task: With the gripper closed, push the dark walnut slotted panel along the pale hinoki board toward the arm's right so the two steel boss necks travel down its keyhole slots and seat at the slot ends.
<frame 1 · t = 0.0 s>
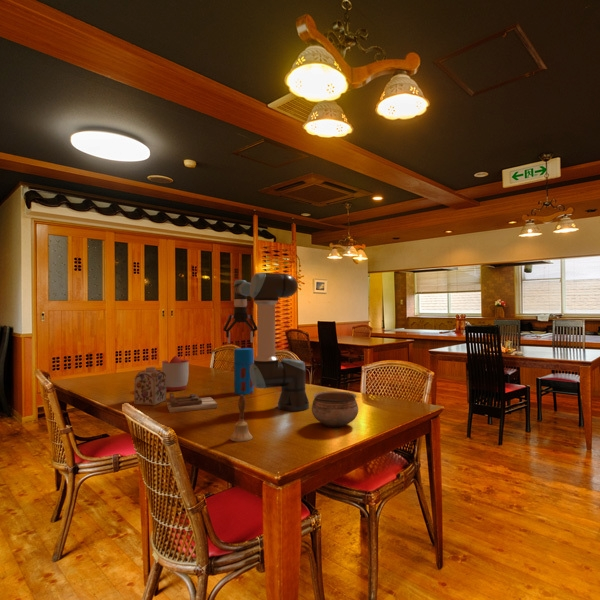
hand: (240, 342, 233), 28 cm above the table, fingers open, 13 cm apart
thermos: (243, 393, 227), on the table
keyhole board: (191, 406, 195), on the table
citrus juicer: (174, 389, 239), on the table
hand bell: (241, 438, 147), on the table
walnut panel: (185, 397, 194), point 5 cm above the table, slide at 0.0 cm
cooking pot: (334, 426, 162), on the table
decorative jar: (150, 402, 205), on the table
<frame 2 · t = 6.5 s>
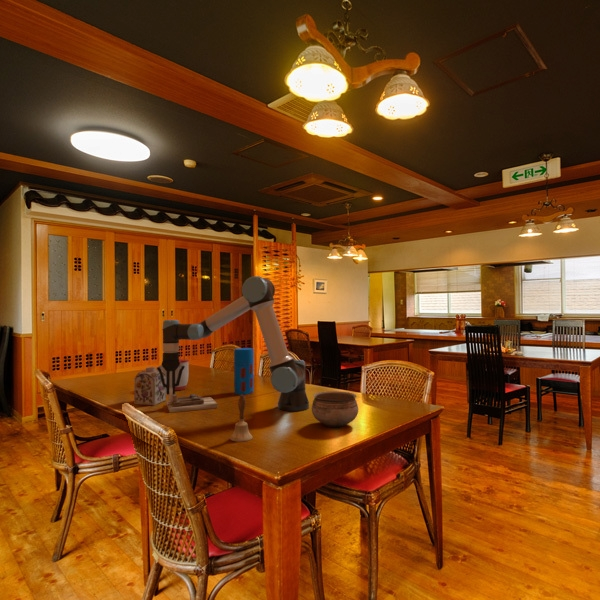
hand: (170, 401, 191), 4 cm above the table, fingers closed
walnut panel: (187, 397, 195), point 5 cm above the table, slide at 1.0 cm, touching gripper
everything else where it was.
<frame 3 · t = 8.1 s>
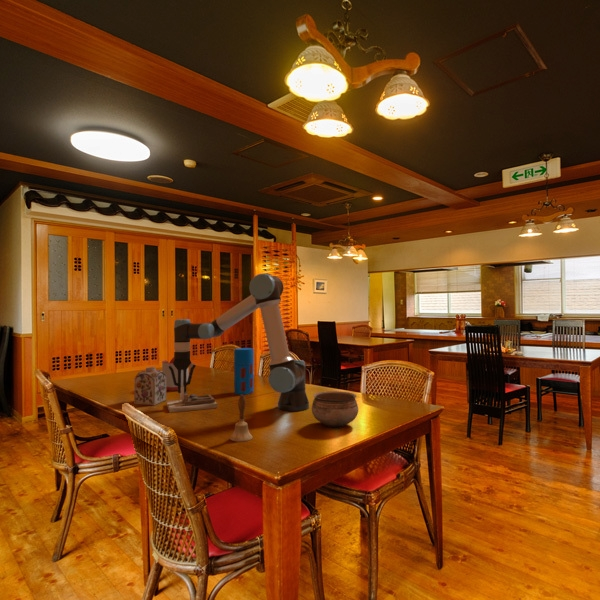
hand: (182, 399, 194), 4 cm above the table, fingers closed
walnut panel: (198, 396, 197), point 5 cm above the table, slide at 6.2 cm, touching gripper
everything else where it was.
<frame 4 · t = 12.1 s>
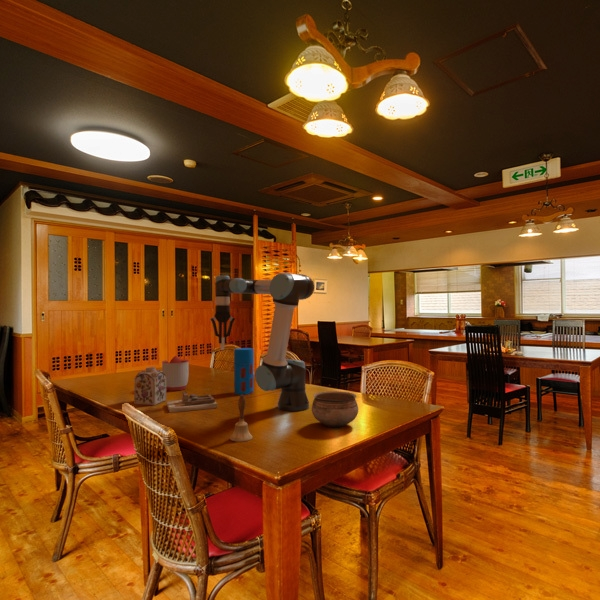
hand: (222, 349, 210), 26 cm above the table, fingers closed
walnut panel: (198, 396, 197), point 5 cm above the table, slide at 6.2 cm
everything else where it was.
at the end: walnut panel slide at 6.2 cm; walnut panel 0.8 cm from the target spot, point 4.5 cm above the table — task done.
